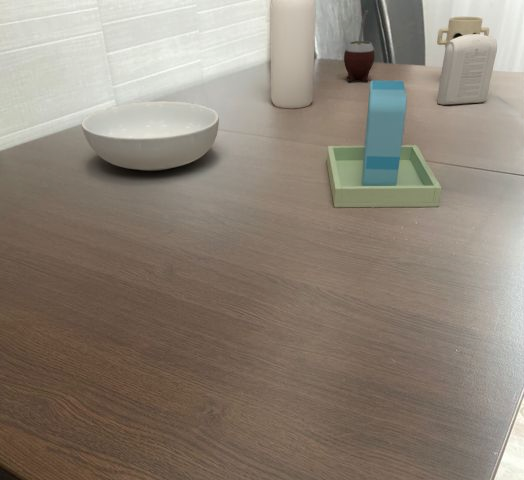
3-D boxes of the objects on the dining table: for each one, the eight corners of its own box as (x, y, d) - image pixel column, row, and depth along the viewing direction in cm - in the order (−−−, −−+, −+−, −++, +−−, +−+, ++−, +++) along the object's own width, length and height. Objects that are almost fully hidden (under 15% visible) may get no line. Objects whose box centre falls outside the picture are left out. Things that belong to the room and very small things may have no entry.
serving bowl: (145, 196, 77) (138, 146, 73) (65, 165, 89) (54, 120, 85) (248, 158, 89) (246, 113, 85) (165, 135, 101) (160, 94, 97)
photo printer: (478, 98, 117) (491, 31, 109) (489, 103, 114) (503, 34, 106) (433, 101, 115) (443, 34, 108) (442, 106, 112) (454, 37, 105)
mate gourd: (355, 76, 137) (360, 5, 128) (381, 80, 132) (388, 7, 123) (335, 80, 133) (339, 8, 124) (361, 85, 128) (366, 10, 119)
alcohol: (314, 99, 120) (320, -76, 101) (310, 109, 113) (315, -77, 94) (274, 98, 121) (273, -75, 103) (268, 108, 114) (265, -75, 96)
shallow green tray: (413, 161, 86) (416, 144, 85) (438, 206, 72) (441, 187, 71) (326, 162, 87) (327, 145, 85) (334, 207, 73) (335, 188, 71)
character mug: (433, 86, 126) (443, 20, 118) (428, 79, 132) (438, 16, 124) (482, 86, 125) (495, 20, 117) (475, 79, 131) (488, 16, 123)
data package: (395, 195, 74) (407, 99, 67) (361, 193, 75) (369, 99, 68) (393, 164, 84) (403, 78, 76) (362, 163, 84) (370, 78, 77)
